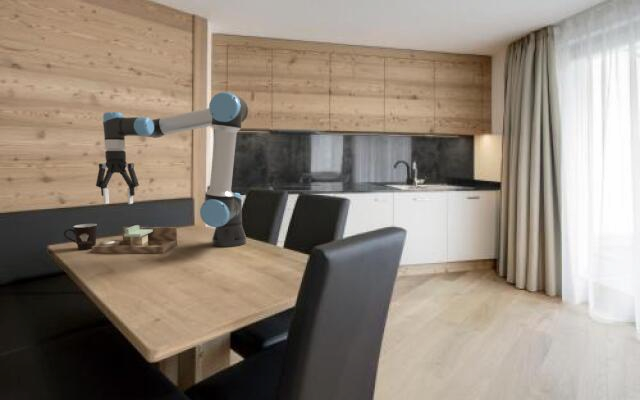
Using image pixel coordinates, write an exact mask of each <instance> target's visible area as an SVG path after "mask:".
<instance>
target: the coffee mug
mask: <svg viewBox="0 0 640 400" xmlns="http://www.w3.org/2000/svg"><path fill="white" fill-rule="evenodd" d="M97 228H98V224H97V223H83V224H82V223H81V224H76V225H74V226H73V229H70V228H68V229H66V230H64V232H63V235H64V237H65V239H67V240H69V241H71V242H73V243H75V244H77V249H78V250H79V251H88V250H92V246H95V245H97V232H98V231H97ZM69 231H71V232H73V234H74V235H75V240H74V239H72V238H70V237H68V236H67V235H66V234H67V232H69Z"/></svg>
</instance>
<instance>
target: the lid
mask: <svg viewBox="0 0 640 400" xmlns="http://www.w3.org/2000/svg"><path fill="white" fill-rule="evenodd" d="M128 227H129V228H126V229H125V234H124V237H141V236H144V235H146V234H148V233H151V232H153V229H140V228H139V227H140V225H139V224H136V225H135V224H134V225H133V226H128Z"/></svg>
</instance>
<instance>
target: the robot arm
mask: <svg viewBox="0 0 640 400" xmlns="http://www.w3.org/2000/svg"><path fill="white" fill-rule="evenodd" d="M208 106H209V107H208V108H204V109H203V108H202V109H200V110H199V109H198V110H193V111H188V112H184V113H179V114H174V115H170V116H169V115H168V116H165V117H164V116H163V117H160V118H155V119H151V118H150V117H146V116H145V117H144V116H139V117H137V116H136V117H135V116H133V117H125V116H124V114H123V113H122V112H116V111H115V112H112V111H108V112H107V111H106V112H104V113H103V114H102V125H103V133H104V134H103V137H104V140H103V141H104V149H105V152H104V154H105V163H104V162H103V163H98V174H97V178H96V184H95V186H96V187H97V188H100V191H101V196H103V204H104V205H107V204H110V192H109V188H108V185H109V182H110V181H111V178H112V176H113V175H114V174H116V173H117V174H120V175H121V176H122V177H123V181H125V182H126V184H127V186H128V188H127V204H128V205H132V204H134V196H135V195H136V194H135V188H137V187H139V186H140V184H139V182H138V181H139V180H138V178H137V174H136V172H135V170H134V168H135V167H134V166H135V164H134V163H132V162H131V163H127V161H126V160H127V154H126V151H125V150H126V140H125V139H126V137H128V136H129V137H131V136H132V137H146V138H147V137H148V138H153V139H154V138H155V139H156V138H161V137H163V136H166V135H171V134H176V133H181V132H182V133H183V132H186V131H193V130H197V129H202V128H208V127H212V128H213V129H214V137H213V138H214V139H213V148H212V159H211V160H212V161H211V172H210V181H209V189H208V190H207V191H205V194H204V195H205V197H204V202H203V203H202V205H201V206H200V209H199V214H200V218H201V220H202V222H204V224H205V225H207V226H208V227H211V228H214V232H213V235H212V239H211V242H212V243H211V244H212V246H215V247H223V248H224V247H226V248H227V247H229V248H230V247H238V246H242V245H245V244H246V243H247V235H246V233H245V230H244V228H243V212H242V211H243V209H242V207H243V205H242V202H243V201H242V200H243V199H242V195H241V194H240V193H239V192H233V191H232V185H233V184H232V183H233V174H234V173H233V172H234V163H235V153H236V152H235V151H236V143H237V135H238V132H239V131H241V130H242V123H243V122H244V121H245V120H247V118H248V114H249V108H248V104H247V103H246V102H245V100H244V99H243V98H241V97H240V96H237V95H236V94H234V93H233V92H227V91H223V92H222V91H221V92H218V93H216V94H214V96H213V97H211V100H210V102H209V105H208ZM126 168H127V170H126ZM106 169H107V171H106ZM105 173H106V174H105Z"/></svg>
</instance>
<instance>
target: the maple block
mask: <svg viewBox="0 0 640 400" xmlns="http://www.w3.org/2000/svg"><path fill="white" fill-rule="evenodd" d="M130 240H131V245H148V234H146V235H144V236H141V237H130Z"/></svg>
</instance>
